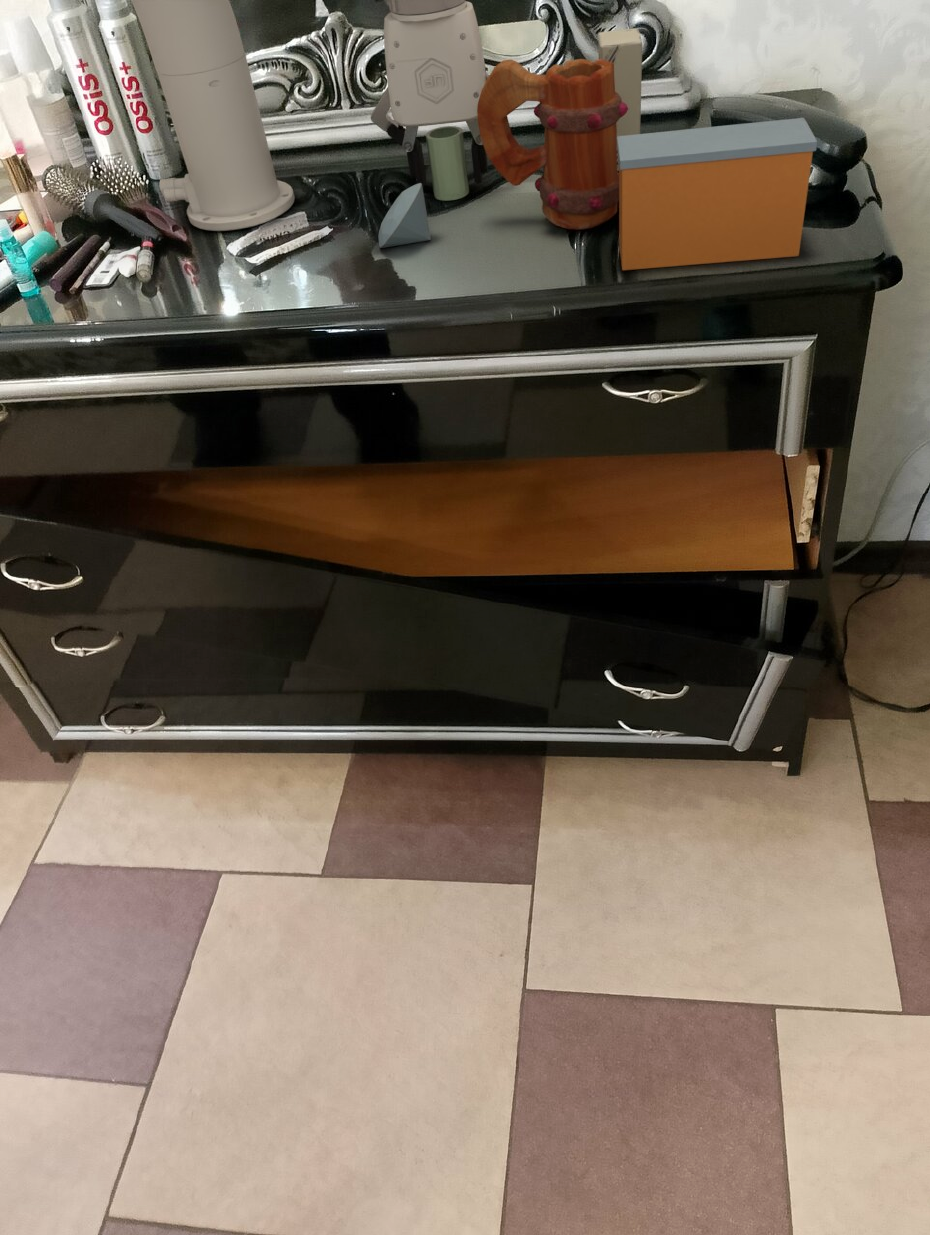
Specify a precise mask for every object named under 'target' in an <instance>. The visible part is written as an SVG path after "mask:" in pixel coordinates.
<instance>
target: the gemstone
mask: <svg viewBox="0 0 930 1235" xmlns="http://www.w3.org/2000/svg"><path fill="white" fill-rule="evenodd" d="M429 224H430V223H429V218H428V213H427V207H426V200H425V195H424V188H422V184H421V183H418V184H417V183H415V184H414V185H412V186H409V187H408V188H406V189H404V190H403V191H401V193H399V195H398V196H397V197H396V199H395V200H394V202H393V203H392V205H391V206H390V208H389V209H388V211H387V212H386V214H385V216H384V218H383V220H382V222H381V224H380V228H379V231H378V236H377V237H378V247H379V249H384V248H390V247H395V246H396V247H397V246H402V245H408V244H414V243H415V244H416V243H422V242H427V241H431V240H432V238H431V236H432V235H431V231H430V225H429Z"/></svg>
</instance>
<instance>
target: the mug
mask: <svg viewBox="0 0 930 1235" xmlns="http://www.w3.org/2000/svg"><path fill="white" fill-rule="evenodd" d="M488 75H489V77H488V78H487V80H486V83H485V85H484V87H483V88H482V91H481V94H480V98H479V101H478V107H477V117H478V125H479V131H480V136H481V140H482V142H483V145H484V148H485V151H486V154H487V159H488V160H489V161H490V163H491V164H492V165H493V167H494V168H495V169H496V171H497V172H498V174H500V176H502V177H503V178H504V179H505V180H506V181H507V182H508V183H510V184H511V186H515V187H518V186H520V185H521V184H522V183H523V182H525V180H527V179H528V178H530V177H531V176H533V175H534V174H535V173H536V172H538V171H539V170H540V169H542V168H543V173H542V175H541V176H540V177H538V178H537V179H536V180H535V182H534V188H535V189H536V190H537V192H539V197H540V200H541V201H542V206H541V212H542V213H543V215H544V217H545V218H546V220H548V222H550V223H551V224H553V225H555V226H558V227H561V228H563V229H567V230H574V231H578V230H582V231H585V230H587V229H593V228H595V227H599V226H600V225H602V224H603V223H606V222H608V221H610V220H611V219H612V218H613V217H614V216H615V215H616V214H617V212H618V203H619V171H617V127H616V122H617V121H618V120H619V119H620V118H621V117H622V116H624V115H625V114H626V113H627V111H628V107H627V105H626V104H625V103H623V102H622V99H621V97H620V95H619V94H618V93H617V92H615V81H614V63H613V62H609V61H606V60H604V59H599V58H597V59H596V60H594V61H593V62H592V61H591V60H590V59H586V58H577V59H570V60H566V61H565V62H564V63H563V65H561V64H553V65H551V67H550V68H548V69H547V71H546V73H545V74H540V73H539V74H538V73H533V72H530V71H529V70H528V69H527V68H525V67H524V66H522V65H521V64H520V63H519V62H518V61H516V60H514V59H504V60H502V61H500V62H499V63H498V64H496V66H494V67H493V69H492V71H491V72H490V74H488ZM526 102H537V103H538V104H536V106H535V107H534V110H533V115H534V116H535V117H537V119H538V120H539V122H540V125H541V126H543V127H544V144H542V145H540V146H536V147H533V148H531V149H528V148H526V147H524V146H523V145H520V143H519V142H518V141H517V140H516V138H515V137H514V135H513V134H512V130H511V126H510V122H509V118H508V116H509V115H510V114H512V112H514V111H515V110H517V109H518V108H520V107H521V106H522V105H523V104H525V103H526Z"/></svg>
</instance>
